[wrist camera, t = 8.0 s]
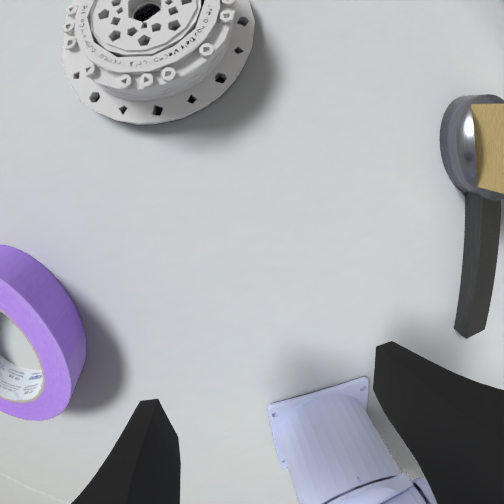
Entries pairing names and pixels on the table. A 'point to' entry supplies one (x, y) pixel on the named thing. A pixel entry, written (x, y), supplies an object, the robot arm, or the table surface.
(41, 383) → the masking tape
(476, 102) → the ratchet
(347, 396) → the robot arm
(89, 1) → the mechanical component
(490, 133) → the open wooden box
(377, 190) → the table surface
